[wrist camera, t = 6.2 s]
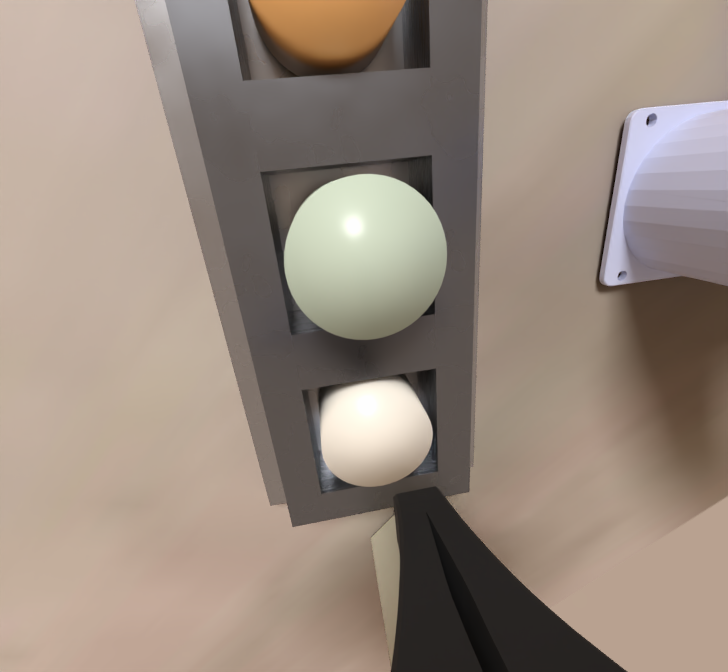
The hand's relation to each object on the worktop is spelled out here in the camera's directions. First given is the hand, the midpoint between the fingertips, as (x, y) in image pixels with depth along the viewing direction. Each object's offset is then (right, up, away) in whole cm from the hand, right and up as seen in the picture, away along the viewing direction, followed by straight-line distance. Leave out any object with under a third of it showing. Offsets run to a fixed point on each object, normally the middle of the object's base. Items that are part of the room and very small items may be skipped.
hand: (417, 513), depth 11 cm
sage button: (-2, +9, +3) cm, 9 cm away
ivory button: (-2, +2, +7) cm, 8 cm away
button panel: (-2, +10, +5) cm, 12 cm away
